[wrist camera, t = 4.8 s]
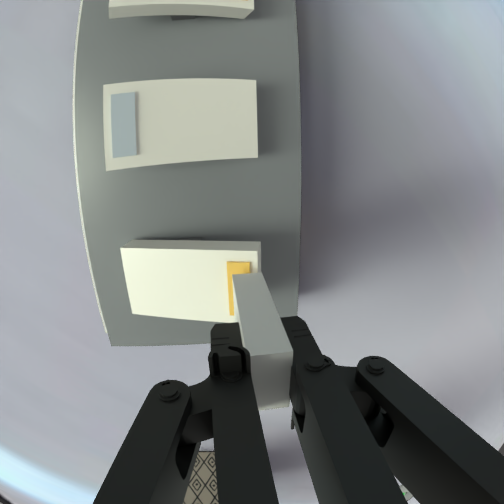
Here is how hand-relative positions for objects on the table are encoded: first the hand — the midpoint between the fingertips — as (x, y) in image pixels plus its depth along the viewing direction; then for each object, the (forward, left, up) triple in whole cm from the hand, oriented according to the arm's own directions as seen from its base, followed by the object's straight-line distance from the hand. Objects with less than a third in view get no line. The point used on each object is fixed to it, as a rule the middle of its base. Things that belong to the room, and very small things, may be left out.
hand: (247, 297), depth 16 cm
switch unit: (-3, +9, -11) cm, 14 cm away
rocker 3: (-3, 0, -3) cm, 4 cm away
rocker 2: (-3, +9, -3) cm, 10 cm away
